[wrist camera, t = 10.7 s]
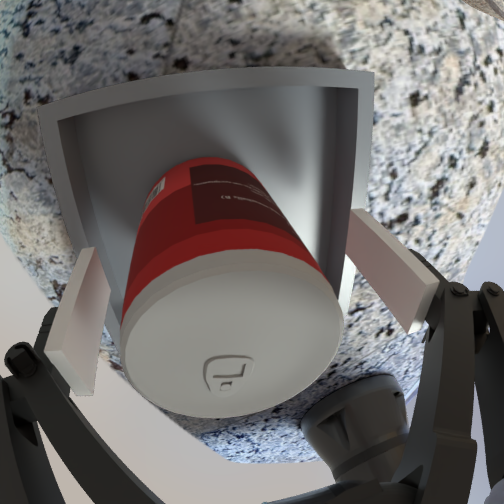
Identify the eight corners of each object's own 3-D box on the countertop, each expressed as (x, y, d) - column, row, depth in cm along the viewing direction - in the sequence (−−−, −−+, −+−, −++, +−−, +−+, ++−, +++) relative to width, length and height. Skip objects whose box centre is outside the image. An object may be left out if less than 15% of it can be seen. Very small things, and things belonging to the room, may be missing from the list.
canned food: (159, 279, 21) (160, 430, 11) (129, 166, 16) (74, 291, 7) (270, 259, 22) (332, 395, 12) (263, 143, 17) (361, 238, 8)
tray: (331, 291, 25) (346, 315, 23) (123, 326, 23) (120, 355, 20) (347, 70, 16) (374, 72, 13) (58, 101, 13) (36, 107, 11)
